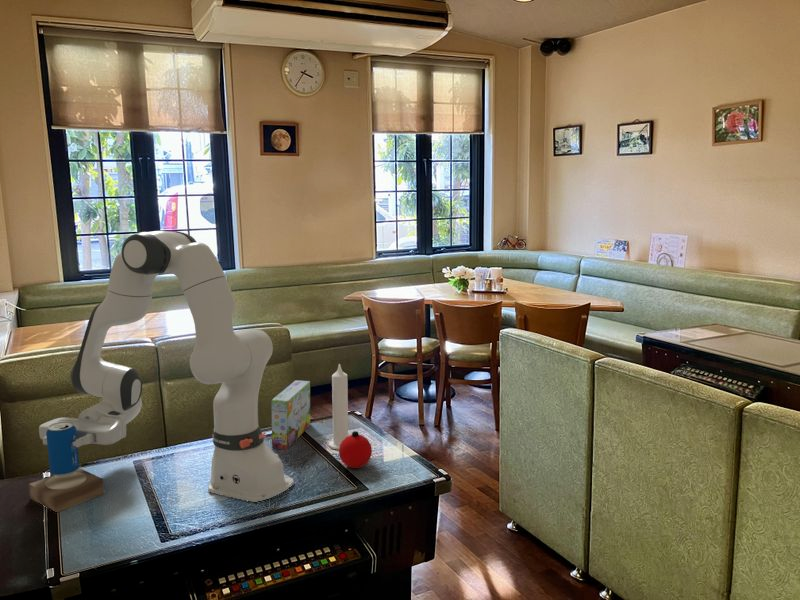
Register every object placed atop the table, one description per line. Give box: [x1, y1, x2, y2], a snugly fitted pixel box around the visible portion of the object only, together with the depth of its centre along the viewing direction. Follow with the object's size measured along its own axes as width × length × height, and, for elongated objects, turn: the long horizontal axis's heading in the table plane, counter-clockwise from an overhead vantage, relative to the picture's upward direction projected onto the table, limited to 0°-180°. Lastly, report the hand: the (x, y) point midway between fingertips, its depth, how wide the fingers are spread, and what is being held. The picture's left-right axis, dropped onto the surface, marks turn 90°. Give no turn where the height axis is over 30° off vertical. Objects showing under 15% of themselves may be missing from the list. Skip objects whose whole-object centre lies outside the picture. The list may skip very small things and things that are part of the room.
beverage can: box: [46, 421, 80, 476], centre depth 156 cm, size 6×6×12 cm
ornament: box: [338, 430, 373, 469], centre depth 175 cm, size 9×9×10 cm
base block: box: [28, 467, 105, 513], centre depth 158 cm, size 12×12×4 cm
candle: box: [328, 363, 349, 451], centre depth 188 cm, size 7×7×25 cm
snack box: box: [270, 379, 311, 450], centre depth 197 cm, size 21×6×15 cm, turn 170°
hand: (59, 443), depth 155 cm, fingers closed on beverage can, 6 cm apart
